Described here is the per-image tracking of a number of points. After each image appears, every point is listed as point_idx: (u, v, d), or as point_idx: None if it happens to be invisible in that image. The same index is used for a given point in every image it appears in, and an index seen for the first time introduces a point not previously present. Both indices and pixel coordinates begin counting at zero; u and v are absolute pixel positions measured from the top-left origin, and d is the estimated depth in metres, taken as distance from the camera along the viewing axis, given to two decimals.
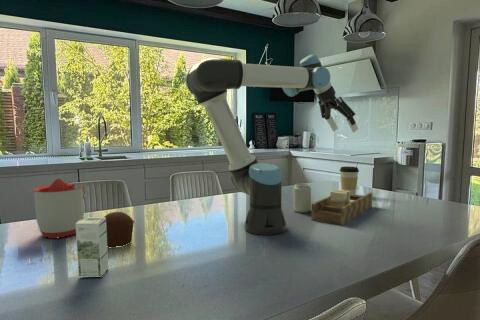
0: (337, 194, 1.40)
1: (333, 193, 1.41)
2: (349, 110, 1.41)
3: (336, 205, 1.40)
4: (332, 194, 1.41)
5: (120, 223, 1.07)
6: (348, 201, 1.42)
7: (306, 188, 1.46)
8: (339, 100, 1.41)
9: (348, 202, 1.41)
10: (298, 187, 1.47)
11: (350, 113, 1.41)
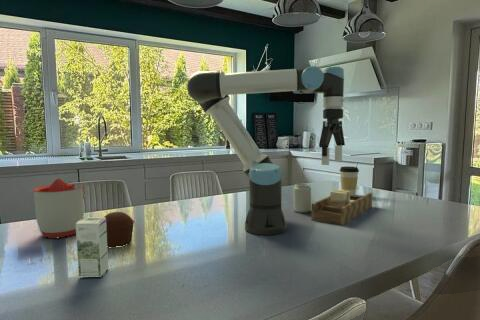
0: (337, 194, 1.40)
1: (333, 193, 1.41)
2: (323, 138, 1.26)
3: (336, 205, 1.40)
4: (332, 194, 1.41)
5: (120, 222, 1.07)
6: (348, 201, 1.42)
7: (306, 188, 1.46)
8: (325, 123, 1.27)
9: (348, 202, 1.41)
10: (298, 187, 1.47)
11: (321, 141, 1.26)
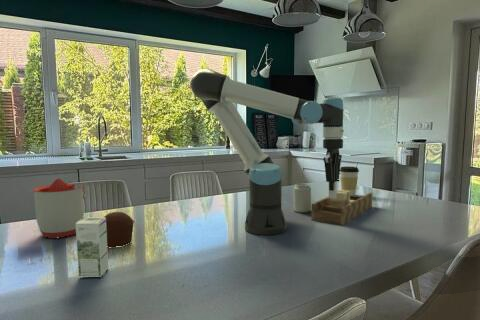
0: (337, 194, 1.40)
1: None
2: (328, 174, 1.31)
3: (336, 205, 1.40)
4: None
5: (120, 222, 1.07)
6: (348, 201, 1.42)
7: (306, 188, 1.46)
8: (325, 160, 1.29)
9: (348, 202, 1.41)
10: (298, 187, 1.47)
11: (327, 177, 1.31)
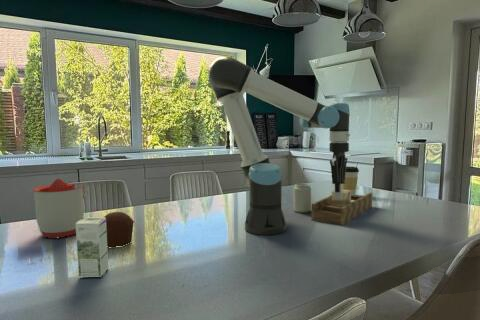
0: None
1: (334, 193, 1.42)
2: (335, 177, 1.36)
3: (337, 204, 1.41)
4: (333, 194, 1.42)
5: (120, 222, 1.07)
6: (349, 201, 1.42)
7: (306, 188, 1.46)
8: (332, 163, 1.34)
9: (349, 201, 1.42)
10: (298, 187, 1.47)
11: (333, 179, 1.36)
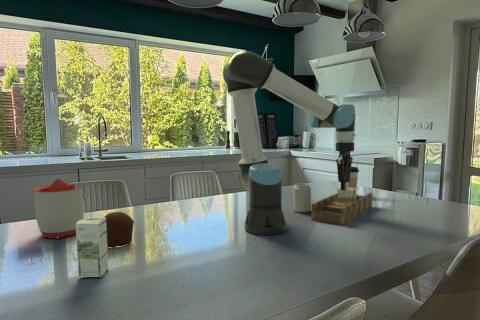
0: None
1: None
2: (341, 175, 1.41)
3: (343, 202, 1.46)
4: (339, 191, 1.47)
5: (120, 223, 1.07)
6: (354, 198, 1.48)
7: (306, 188, 1.46)
8: (338, 162, 1.39)
9: (354, 198, 1.47)
10: (298, 187, 1.47)
11: (339, 178, 1.42)
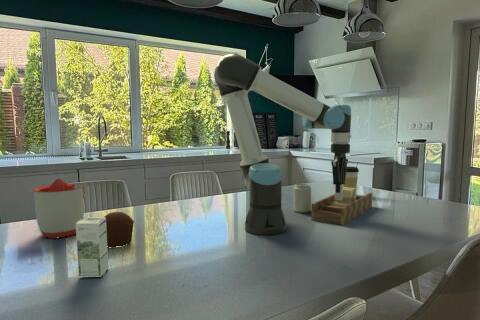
0: (344, 191, 1.46)
1: None
2: (336, 177, 1.38)
3: (343, 202, 1.46)
4: None
5: (120, 223, 1.07)
6: (354, 198, 1.48)
7: (306, 188, 1.46)
8: (333, 164, 1.36)
9: (354, 198, 1.47)
10: (298, 187, 1.47)
11: (334, 180, 1.38)
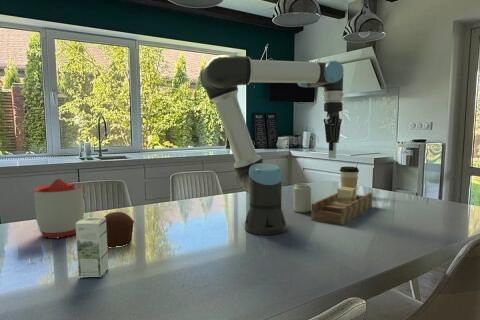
0: (344, 191, 1.46)
1: (340, 190, 1.47)
2: (328, 135, 1.41)
3: (343, 202, 1.46)
4: (339, 191, 1.47)
5: (120, 223, 1.07)
6: (354, 198, 1.48)
7: (306, 188, 1.46)
8: (325, 121, 1.39)
9: (354, 198, 1.47)
10: (298, 187, 1.47)
11: (327, 138, 1.41)
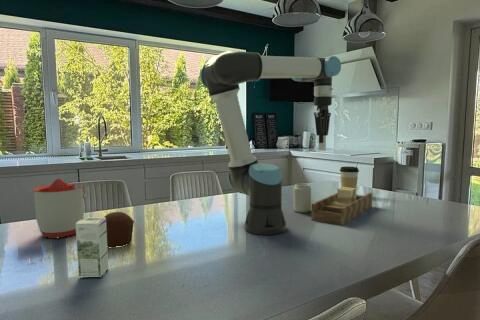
0: (344, 191, 1.46)
1: (340, 190, 1.47)
2: (318, 128, 1.47)
3: (343, 202, 1.46)
4: (339, 191, 1.47)
5: (120, 223, 1.07)
6: (354, 198, 1.48)
7: (306, 188, 1.46)
8: (316, 115, 1.46)
9: (354, 198, 1.47)
10: (298, 187, 1.47)
11: (317, 130, 1.48)
